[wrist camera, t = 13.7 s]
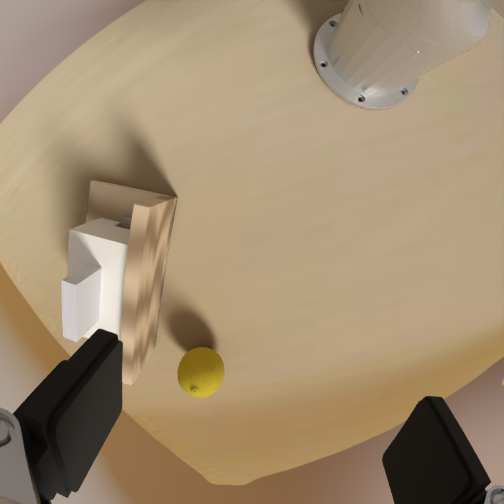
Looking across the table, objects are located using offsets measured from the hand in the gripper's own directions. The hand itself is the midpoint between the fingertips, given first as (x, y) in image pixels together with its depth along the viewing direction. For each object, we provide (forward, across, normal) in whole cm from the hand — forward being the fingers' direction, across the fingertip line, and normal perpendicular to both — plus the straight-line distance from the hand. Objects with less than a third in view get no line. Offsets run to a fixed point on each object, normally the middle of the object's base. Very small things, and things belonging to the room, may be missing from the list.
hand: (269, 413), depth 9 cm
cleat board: (+28, +16, +9) cm, 34 cm away
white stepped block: (+27, +16, +9) cm, 33 cm away
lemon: (+28, +4, +18) cm, 34 cm away
